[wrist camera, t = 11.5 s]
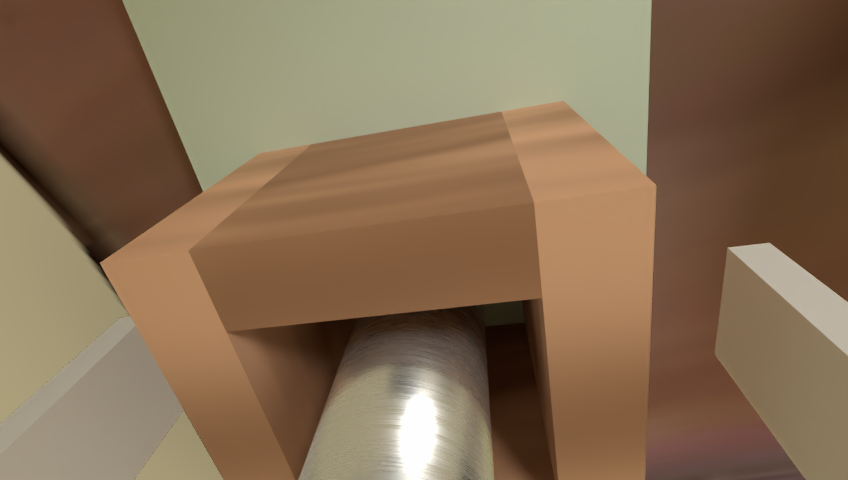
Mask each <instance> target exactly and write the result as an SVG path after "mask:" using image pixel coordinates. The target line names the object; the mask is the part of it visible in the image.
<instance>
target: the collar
mask: <svg viewBox="0 0 848 480" xmlns="http://www.w3.org/2000/svg"><path fill="white" fill-rule="evenodd" d="M655 209H656V184H654V183H653V182H652V181H651V180H650V179H649V178H648V177H647V176H646V175H645V174H643V173H642V172H641V171H640V170H639V169H638V168H637V167H636V166H635V165H634V164H632V163H631V162H630V161H629V160H628V159H627V158H626V157H625V156H624V155H623V154H621V153H620V152H619V151H618V150H617V149H616V148H615V147H614V146H613V145H612V144H610V143H609V142H608V141H607V140H606V139H605V138H604V137H603V136H602V135H601V134H599V133H598V132H597V131H596V130H595V129H594V128H593V127H592V126H591V125H590V124H588V123H587V122H586V121H585V120H584V119H583V118H582V117H581V116H580V115H579V114H577V113H576V112H575V111H574V110H573V109H572V108H571V107H570V106H569V105H568V104H566V103H565V102H564V101H560V102H554V103H548V104H542V105H536V106H531V107H525V108H519V109H513V110H507V111H502V112H496V113H490V114H484V115H478V116H473V117H467V118H461V119H455V120H449V121H444V122H438V123H432V124H426V125H420V126H414V127H409V128H403V129H397V130H391V131H385V132H380V133H374V134H368V135H362V136H356V137H351V138H345V139H339V140H333V141H327V142H322V143H316V144H310V145H304V146H298V147H293V148H287V149H281V150H275V151H269V152H264V153H259V154H258V155H256V156H255V157H253V158H252V159H250V160H249V161H247V162H246V163H245V164H243V165H242V166H240V167H239V168H237V169H236V170H234V171H233V172H231V173H230V174H229V175H227V176H226V177H224V178H223V179H221V180H220V181H218V182H217V183H215V184H214V185H213V186H211V187H210V188H208V189H207V190H205V191H204V192H202V193H201V194H199V195H198V196H197V197H195V198H194V199H192V200H191V201H189V202H188V203H186V204H185V205H183V206H182V207H181V208H179V209H178V210H176V211H175V212H173V213H172V214H170V215H169V216H167V217H166V218H165V219H163V220H162V221H160V222H159V223H157V224H156V225H154V226H153V227H151V228H150V229H148V230H147V231H146V232H144V233H143V234H141V235H140V236H138V237H137V238H135V239H134V240H132V241H131V242H130V243H128V244H127V245H125V246H124V247H122V248H121V249H119V250H118V251H116V252H115V253H114V254H112V255H111V256H109V257H108V258H106V259H105V260H103V261H102V262H100V265H101V266H102V268H103V270H104V271H105V273H106V275H107V277H108V278H109V280H110V282H111V284H112V285H113V287H114V289H115V291H116V292H117V294H118V296H119V298H120V299H121V301H122V303H123V305H124V306H125V308H126V310H127V312H128V313H129V315H130V317H131V319H132V320H133V322H134V324H135V326H136V327H137V329H138V331H139V333H140V334H141V336H142V338H143V340H144V341H145V343H146V345H147V347H148V348H149V350H150V352H151V354H152V355H153V357H154V359H155V361H156V362H157V364H158V366H159V368H160V369H161V371H162V373H163V375H164V376H165V378H166V380H167V382H168V383H169V385H170V387H171V388H172V390H173V392H174V394H175V395H176V397H177V399H178V401H179V402H180V404H181V406H182V408H183V409H184V411H185V413H186V415H187V416H188V418H189V420H190V421H191V423H192V425H193V427H194V428H195V430H196V432H197V434H198V435H199V437H200V439H201V441H202V442H203V444H204V446H205V448H206V450H207V451H208V453H209V455H210V457H211V458H212V460H213V462H214V464H215V465H216V467H217V469H218V470H219V472H220V474H221V476H222V477H223V479H224V480H299V477H300V474H301V471H302V469H303V466H304V463H305V460H306V457H307V455H308V452H309V449H310V446H311V443H312V441H313V438H314V435H315V432H316V429H317V427H318V424H319V421H320V418H321V415H322V413H323V410H324V407H325V404H326V401H327V398H328V396H329V393H330V390H331V387H332V384H333V382H334V379H335V376H336V373H337V370H338V368H339V365H340V362H341V359H342V356H343V354H344V351H345V348H346V345H347V342H348V340H349V337H350V334H351V331H352V328H353V326H354V323H355V320H356V318H361V317H370V316H380V315H389V314H398V313H408V312H417V311H426V310H436V309H445V308H454V307H464V306H473V305H482V304H492V303H501V302H510V301H520V300H522V303H523V312H524V321H525V323H515V324H505V325H495V326H485V337H486V353H487V370H488V386H489V402H490V418H491V435H492V451H493V467H494V480H645V464H646V439H647V413H648V388H649V362H650V337H651V311H652V286H653V260H654V235H655Z"/></svg>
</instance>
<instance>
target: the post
mask: <svg viewBox="0 0 848 480" xmlns="http://www.w3.org/2000/svg"><path fill="white" fill-rule="evenodd" d="M299 480H494V467H493V451H492V435H491V418H490V402H489V386H488V370H487V353H486V337H485V321H484V305H483V304H482V305H473V306H464V307H454V308H445V309H436V310H426V311H417V312H408V313H398V314H389V315H380V316H370V317H361V318H356V320H355V323H354V326H353V328H352V331H351V334H350V337H349V340H348V342H347V345H346V348H345V351H344V354H343V356H342V359H341V362H340V365H339V368H338V370H337V373H336V376H335V379H334V382H333V384H332V387H331V390H330V393H329V396H328V398H327V401H326V404H325V407H324V410H323V413H322V415H321V418H320V421H319V424H318V427H317V429H316V432H315V435H314V438H313V441H312V443H311V446H310V449H309V452H308V455H307V457H306V460H305V463H304V466H303V469H302V471H301V474H300V477H299Z"/></svg>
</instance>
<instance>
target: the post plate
mask: <svg viewBox="0 0 848 480" xmlns="http://www.w3.org/2000/svg"><path fill="white" fill-rule="evenodd" d="M122 1H123V3H124V6H125V8H126V10H127V13H128V15H129V18H130V20H131V22H132V25H133V27H134V29H135V32H136V34H137V36H138V39H139V41H140V44H141V46H142V48H143V51H144V53H145V55H146V58H147V60H148V62H149V65H150V67H151V70H152V72H153V74H154V77H155V79H156V81H157V84H158V86H159V88H160V91H161V93H162V96H163V98H164V100H165V103H166V105H167V107H168V110H169V112H170V114H171V117H172V119H173V122H174V124H175V126H176V129H177V131H178V133H179V136H180V138H181V141H182V143H183V145H184V148H185V150H186V152H187V155H188V157H189V159H190V162H191V164H192V167H193V169H194V171H195V174H196V176H197V178H198V181H199V183H200V185H201V188H202V190H203V192H204V191H205V190H207V189H208V188H210V187H211V186H213V185H214V184H215V183H217V182H218V181H220V180H221V179H223V178H224V177H226V176H227V175H229V174H230V173H231V172H233V171H234V170H236V169H237V168H239V167H240V166H242V165H243V164H245V163H246V162H247V161H249V160H250V159H252V158H253V157H255V156H256V155H258V154H259V153H264V152H269V151H275V150H281V149H287V148H293V147H298V146H304V145H310V144H316V143H322V142H327V141H333V140H339V139H345V138H351V137H356V136H362V135H368V134H374V133H380V132H385V131H391V130H397V129H403V128H409V127H414V126H420V125H426V124H432V123H438V122H444V121H449V120H455V119H461V118H467V117H473V116H478V115H484V114H490V113H496V112H502V111H507V110H513V109H519V108H525V107H531V106H536V105H542V104H548V103H554V102H560V101H564V102H565V103H566V104H568V105H569V106H570V107H571V108H572V109H573V110H574V111H575V112H576V113H577V114H579V115H580V116H581V117H582V118H583V119H584V120H585V121H586V122H587V123H588V124H590V125H591V126H592V127H593V128H594V129H595V130H596V131H597V132H598V133H599V134H601V135H602V136H603V137H604V138H605V139H606V140H607V141H608V142H609V143H610V144H612V145H613V146H614V147H615V148H616V149H617V150H618V151H619V152H620V153H621V154H623V155H624V156H625V157H626V158H627V159H628V160H629V161H630V162H631V163H632V164H634V165H635V166H636V167H637V168H638V169H639V170H640V171H641V172H642V173H643V174H645V175H646V164H647V131H648V99H649V66H650V33H651V1H652V0H122ZM483 305H484V321H485V326H495V325H505V324H515V323H525V321H524V312H523V303H522V300H520V301H510V302H501V303H492V304H483Z"/></svg>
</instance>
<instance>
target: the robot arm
mask: <svg viewBox="0 0 848 480" xmlns="http://www.w3.org/2000/svg"><path fill="white" fill-rule="evenodd" d="M715 356H716V357H717V358H718V360H719V361H720V362H721V364H722V365H723V367H724V368H725V369H726V371H727V372H728V373H729V375H730V376H731V378H732V379H733V380H734V382H735V383H736V384H737V386H738V387H739V389H740V390H741V391H742V393H743V394H744V395H745V397H746V398H747V400H748V401H749V402H750V404H751V405H752V407H753V408H754V409H755V411H756V412H757V413H758V415H759V416H760V418H761V419H762V420H763V422H764V423H765V424H766V426H767V427H768V429H769V430H770V431H771V433H772V434H773V435H774V437H775V438H776V440H777V441H778V442H779V444H780V445H781V446H782V448H783V449H784V451H785V452H786V453H787V455H788V456H789V457H790V459H791V460H792V462H793V463H794V464H795V466H796V467H797V468H798V470H799V471H800V473H801V474H802V475H803V477H804V478H805V479H806V480H848V302H847V301H845V300H844V299H843V298H841V297H840V296H839V295H838V294H836V293H835V292H834V291H832V290H831V289H830V288H828V287H827V286H826V285H824V284H823V283H822V282H820V281H819V280H818V279H816V278H815V277H814V276H813V275H811V274H810V273H809V272H807V271H806V270H805V269H803V268H802V267H801V266H799V265H798V264H797V263H795V262H794V261H793V260H791V259H790V258H789V257H788V256H786V255H785V254H784V253H782V252H781V251H780V250H778V249H777V248H776V247H774V246H773V245H772V244H770V243H763V244H754V245H746V246H737V247H728V248H727V256H726V264H725V272H724V280H723V289H722V297H721V305H720V313H719V322H718V330H717V338H716V346H715ZM183 410H184V409H183V408H182V406H181V404H180V402H179V401H178V399H177V397H176V395H175V394H174V392H173V390H172V388H171V387H170V385H169V383H168V382H167V380H166V378H165V376H164V375H163V373H162V371H161V369H160V368H159V366H158V364H157V362H156V361H155V359H154V357H153V355H152V354H151V352H150V350H149V348H148V347H147V345H146V343H145V341H144V340H143V338H142V336H141V334H140V333H139V331H138V329H137V327H136V326H135V324H134V322H133V320H132V319H131V317H130V316H129V317H121V318H119V319H118V320H117V321H116V322H115V323H113V324H112V325H111V326H110V327H109V328H108V329H107V330H106V331H104V332H103V333H102V334H101V335H100V336H99V337H98V338H97V339H95V340H94V341H93V342H92V343H91V344H90V345H89V346H87V348H85V349H84V350H83V351H82V352H81V353H80V354H78V355H77V356H76V357H75V358H74V359H73V360H72V361H71V362H69V363H68V364H67V365H66V366H65V367H64V368H63V369H62V370H60V371H59V372H58V373H57V374H56V375H55V376H54V377H53V378H51V379H50V380H49V381H48V382H47V383H46V384H45V385H43V386H42V387H41V388H40V389H39V390H38V391H37V392H36V393H34V394H33V395H32V396H31V397H30V398H29V399H28V400H27V401H26V402H24V403H23V404H22V405H21V406H20V407H19V408H17V409H16V410H15V411H14V412H13V413H12V414H11V415H10V416H8V417H7V418H6V419H5V420H4V421H3V422H2V423H1V424H0V480H134V479H135V478H136V477H137V475H138V474H139V472H140V471H141V470H142V468H143V467H144V465H145V464H146V462H147V461H148V460H149V458H150V457H151V455H152V454H153V453H154V451H155V450H156V448H157V447H158V445H159V444H160V442H161V441H162V440H163V438H164V437H165V436H166V434H167V433H168V431H169V430H170V428H171V427H172V426H173V424H174V423H175V421H176V420H177V419H178V417H179V416H180V414H181V413H182V412H183Z"/></svg>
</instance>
